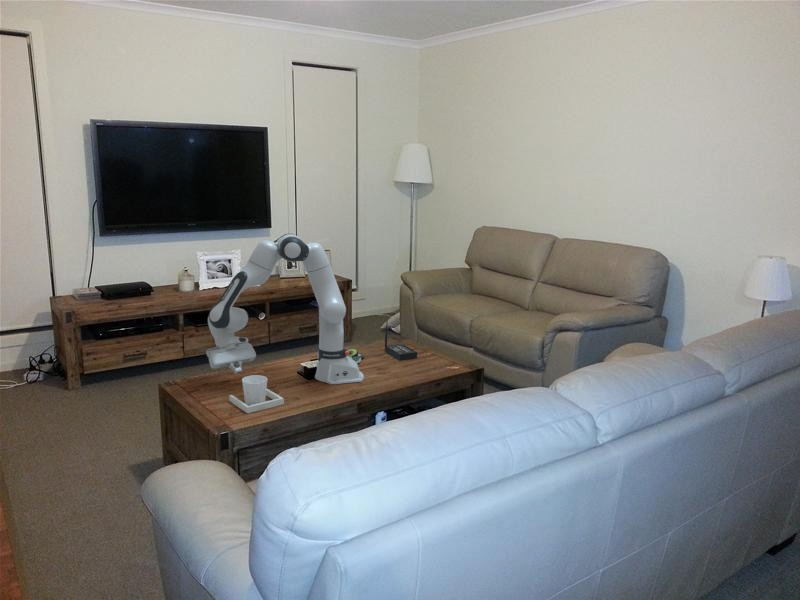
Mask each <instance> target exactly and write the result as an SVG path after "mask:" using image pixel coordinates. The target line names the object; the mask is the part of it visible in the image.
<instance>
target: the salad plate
mask: <svg viewBox="0 0 800 600" xmlns="http://www.w3.org/2000/svg"><path fill="white" fill-rule="evenodd" d="M347 350H348V351H349V357H350V358H351V359H353V360H354V361H355V362H356V363H357V365H359V363H360V362H362V359H363V358H364V357H365V354H359V351H358V349H356V348H349V349H347Z"/></svg>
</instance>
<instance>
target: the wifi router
mask: <svg viewBox="0 0 800 600" xmlns="http://www.w3.org/2000/svg"><path fill="white" fill-rule="evenodd" d="M385 321H386V323H385V324H386V325H385V333H384V334H385V335H384V336H385V337H384V352H385V353H386V354H388V355H389V356H391V357H393V358H394V359H396V360H397V361H407V360H416V359H418V351H415V350H414V349H412V348H410V347H408V346H406V345H405V344H403V343H393V344H388V321H389V320H388V318H387V319H386V320H385Z"/></svg>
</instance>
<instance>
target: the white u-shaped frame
mask: <svg viewBox="0 0 800 600" xmlns="http://www.w3.org/2000/svg"><path fill="white" fill-rule="evenodd" d="M228 396H229V397H228V400H229V402H230V403H232V405H235V406H236V407H238V408H239V409H240V410H242V411H243V412H245V413H246V414H250V413H251V414H252V413H255V412H259V411H263V410H266V409H271V408H275V407H279V406H281V405H284V404H285V398H284V397H282V396H281V395H279V394H277V393H275V392H274V391H272V390H271V389H269V388H267V387H266V397H268V398H270V399H271V400H265V402H262V403H258V404H254V405H247V404H245V401H244V402H243V401H242V400H241V399H240V398H238V397H236V396H234V395H233V394H230V395H228Z"/></svg>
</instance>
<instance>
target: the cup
mask: <svg viewBox="0 0 800 600" xmlns="http://www.w3.org/2000/svg"><path fill="white" fill-rule="evenodd" d="M241 381H242V389H243V400H244V403H245V404H247V405H248V406H250V405H254V404H258V403H262V402H266V398H267V396H266V388H267V386H268V377H266V376H265V375H259V374H251V375H246V376H243V378H242V379H241Z"/></svg>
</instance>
